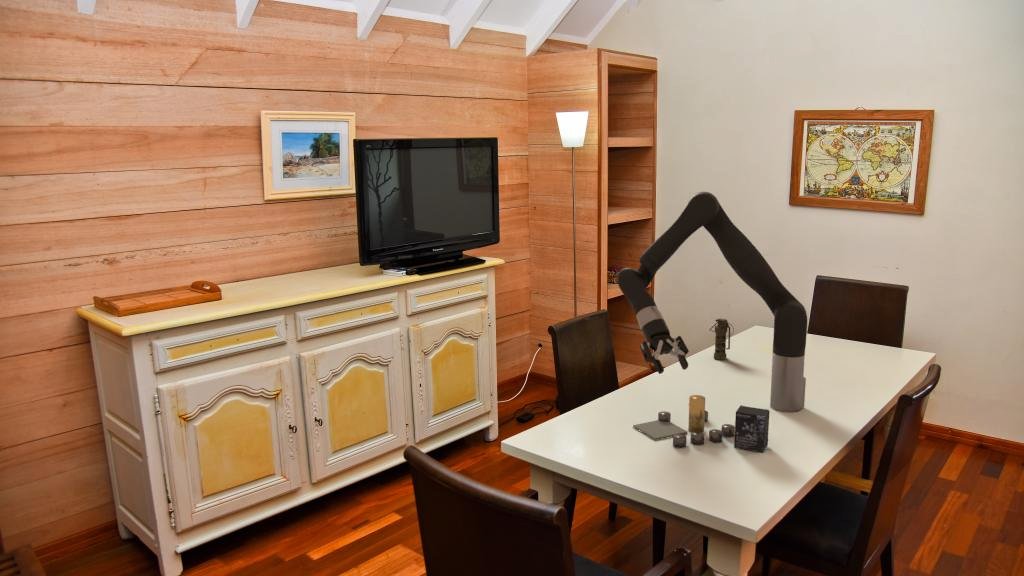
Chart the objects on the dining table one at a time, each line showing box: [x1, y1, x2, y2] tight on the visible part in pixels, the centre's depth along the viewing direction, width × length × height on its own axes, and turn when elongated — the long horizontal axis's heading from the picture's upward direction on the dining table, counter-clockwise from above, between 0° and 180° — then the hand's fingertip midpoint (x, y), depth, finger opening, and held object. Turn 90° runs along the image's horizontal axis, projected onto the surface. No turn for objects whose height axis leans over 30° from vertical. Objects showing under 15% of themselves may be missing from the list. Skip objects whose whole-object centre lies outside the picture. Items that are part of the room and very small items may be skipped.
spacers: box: [657, 410, 735, 449], centre depth 223 cm, size 21×22×2 cm
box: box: [733, 405, 771, 454], centre depth 210 cm, size 8×6×11 cm
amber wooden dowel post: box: [687, 394, 706, 433], centre depth 222 cm, size 4×4×10 cm
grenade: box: [709, 318, 735, 361], centre depth 288 cm, size 9×6×15 cm, turn 50°
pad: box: [632, 419, 688, 441], centre depth 224 cm, size 11×11×1 cm
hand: (674, 370), depth 230 cm, fingers open, 8 cm apart
